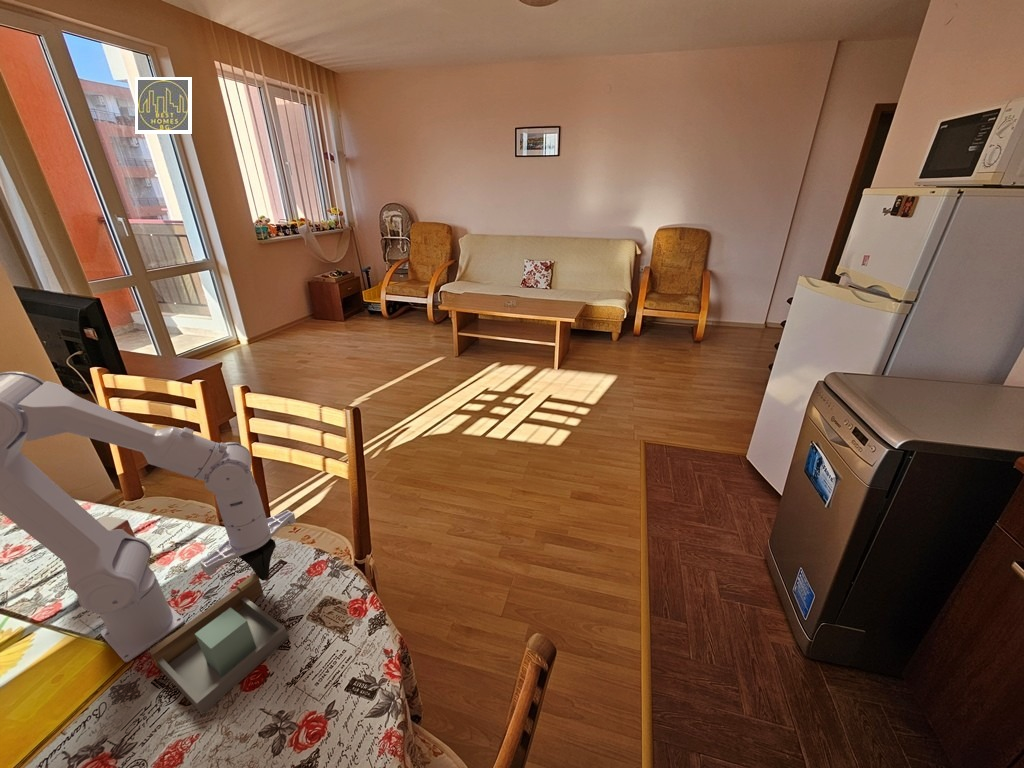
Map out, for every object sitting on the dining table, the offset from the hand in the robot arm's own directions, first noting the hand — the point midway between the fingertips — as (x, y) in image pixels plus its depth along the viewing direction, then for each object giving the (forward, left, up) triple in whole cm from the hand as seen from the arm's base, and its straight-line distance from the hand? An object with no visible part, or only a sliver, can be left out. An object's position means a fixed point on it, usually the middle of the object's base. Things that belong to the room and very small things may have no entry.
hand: (262, 576), depth 74 cm
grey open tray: (+7, -10, -3) cm, 12 cm away
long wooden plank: (0, -9, -3) cm, 9 cm away
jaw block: (+8, -10, -2) cm, 13 cm away
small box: (-27, -13, -3) cm, 30 cm away
